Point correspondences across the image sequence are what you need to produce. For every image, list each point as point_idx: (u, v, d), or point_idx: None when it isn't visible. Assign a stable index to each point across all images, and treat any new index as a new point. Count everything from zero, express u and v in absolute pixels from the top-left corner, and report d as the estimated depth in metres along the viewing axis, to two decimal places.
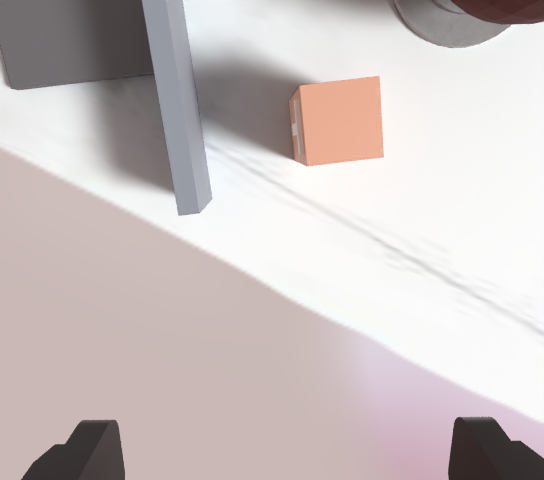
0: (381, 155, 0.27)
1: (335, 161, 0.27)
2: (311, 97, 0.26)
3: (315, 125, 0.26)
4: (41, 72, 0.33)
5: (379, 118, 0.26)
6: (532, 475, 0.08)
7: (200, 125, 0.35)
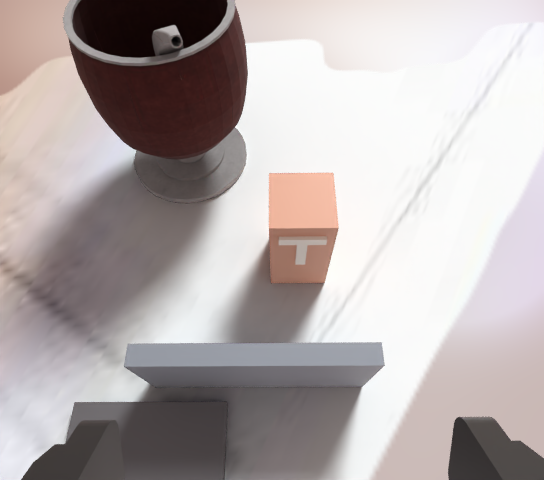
0: (331, 174, 0.32)
1: (335, 206, 0.30)
2: (279, 220, 0.30)
3: (303, 219, 0.30)
4: None
5: (301, 174, 0.32)
6: (532, 475, 0.08)
7: None
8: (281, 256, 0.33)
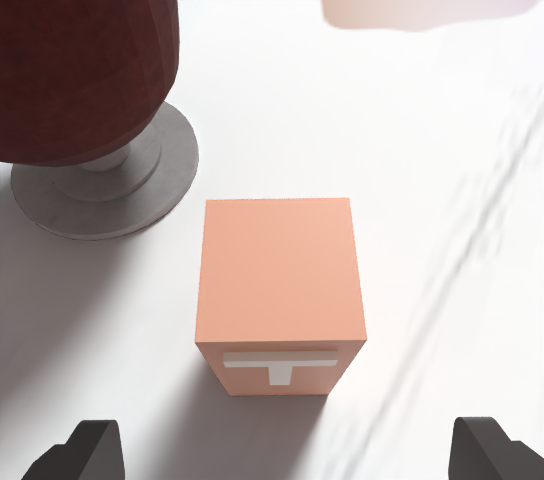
0: (345, 200, 0.14)
1: (356, 280, 0.13)
2: (222, 320, 0.12)
3: (279, 315, 0.12)
4: None
5: (278, 202, 0.14)
6: (532, 475, 0.08)
7: None
8: (239, 373, 0.16)
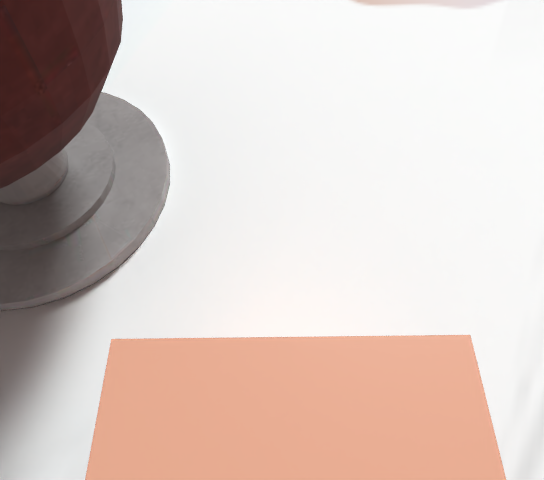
0: (463, 344, 0.06)
1: None
2: None
3: None
4: None
5: (293, 346, 0.06)
6: None
7: None
8: None
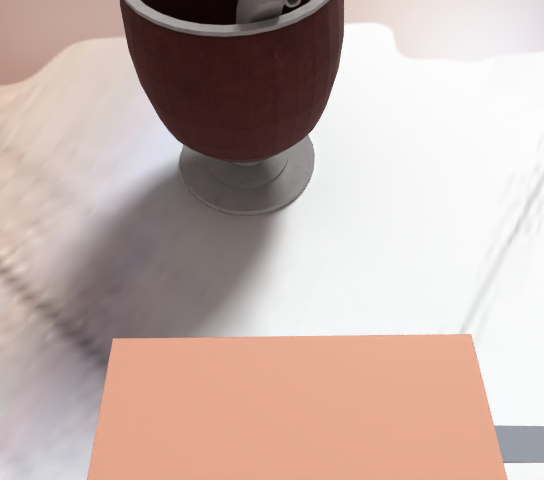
0: (464, 343, 0.06)
1: None
2: None
3: None
4: None
5: (294, 345, 0.06)
6: None
7: None
8: None
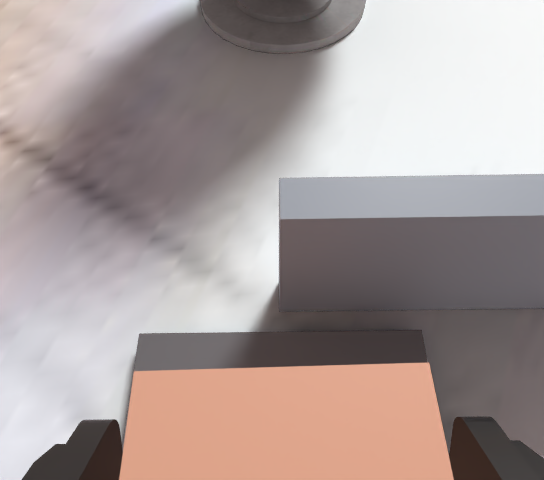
0: (423, 370, 0.07)
1: None
2: None
3: None
4: None
5: (284, 374, 0.07)
6: (531, 475, 0.08)
7: None
8: None
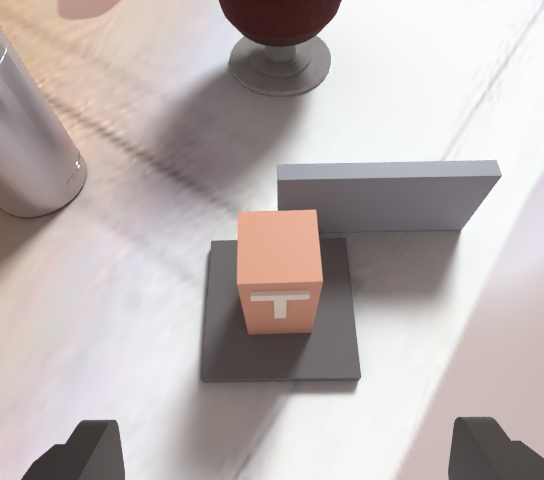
0: (314, 211, 0.26)
1: (318, 253, 0.25)
2: (250, 273, 0.24)
3: (279, 271, 0.24)
4: (344, 341, 0.32)
5: (277, 212, 0.26)
6: (532, 475, 0.08)
7: None
8: (257, 310, 0.28)
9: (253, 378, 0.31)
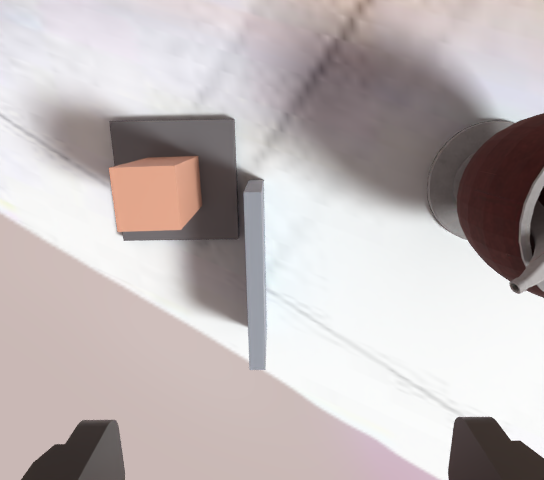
0: (178, 228, 0.32)
1: (140, 230, 0.32)
2: (118, 177, 0.31)
3: (123, 200, 0.32)
4: (148, 231, 0.43)
5: (176, 199, 0.32)
6: (532, 475, 0.08)
7: (265, 277, 0.44)
8: None
9: (115, 162, 0.41)
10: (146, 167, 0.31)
